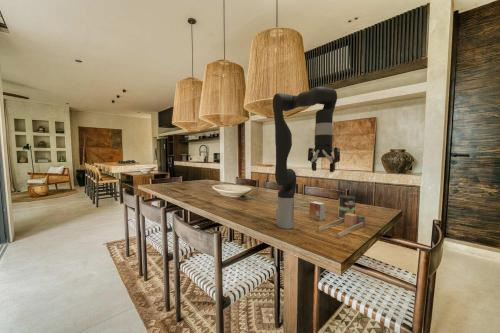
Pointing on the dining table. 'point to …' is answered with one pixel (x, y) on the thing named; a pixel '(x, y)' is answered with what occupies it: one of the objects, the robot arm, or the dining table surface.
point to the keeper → (350, 219)
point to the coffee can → (346, 205)
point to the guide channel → (359, 224)
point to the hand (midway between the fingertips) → (322, 171)
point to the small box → (317, 210)
